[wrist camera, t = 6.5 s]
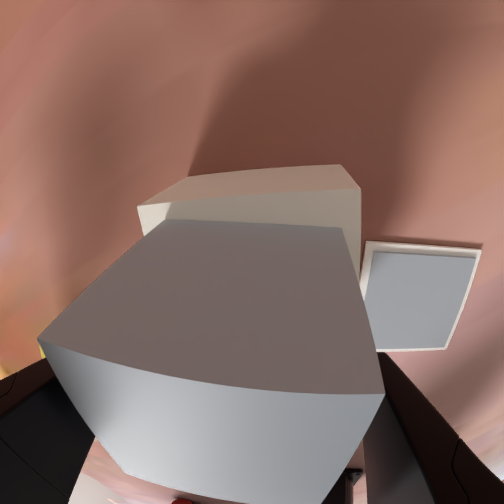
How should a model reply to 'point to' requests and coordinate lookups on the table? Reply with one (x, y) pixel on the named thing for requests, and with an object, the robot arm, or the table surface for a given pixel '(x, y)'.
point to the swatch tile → (415, 293)
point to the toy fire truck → (182, 501)
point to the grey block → (224, 360)
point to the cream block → (265, 200)
